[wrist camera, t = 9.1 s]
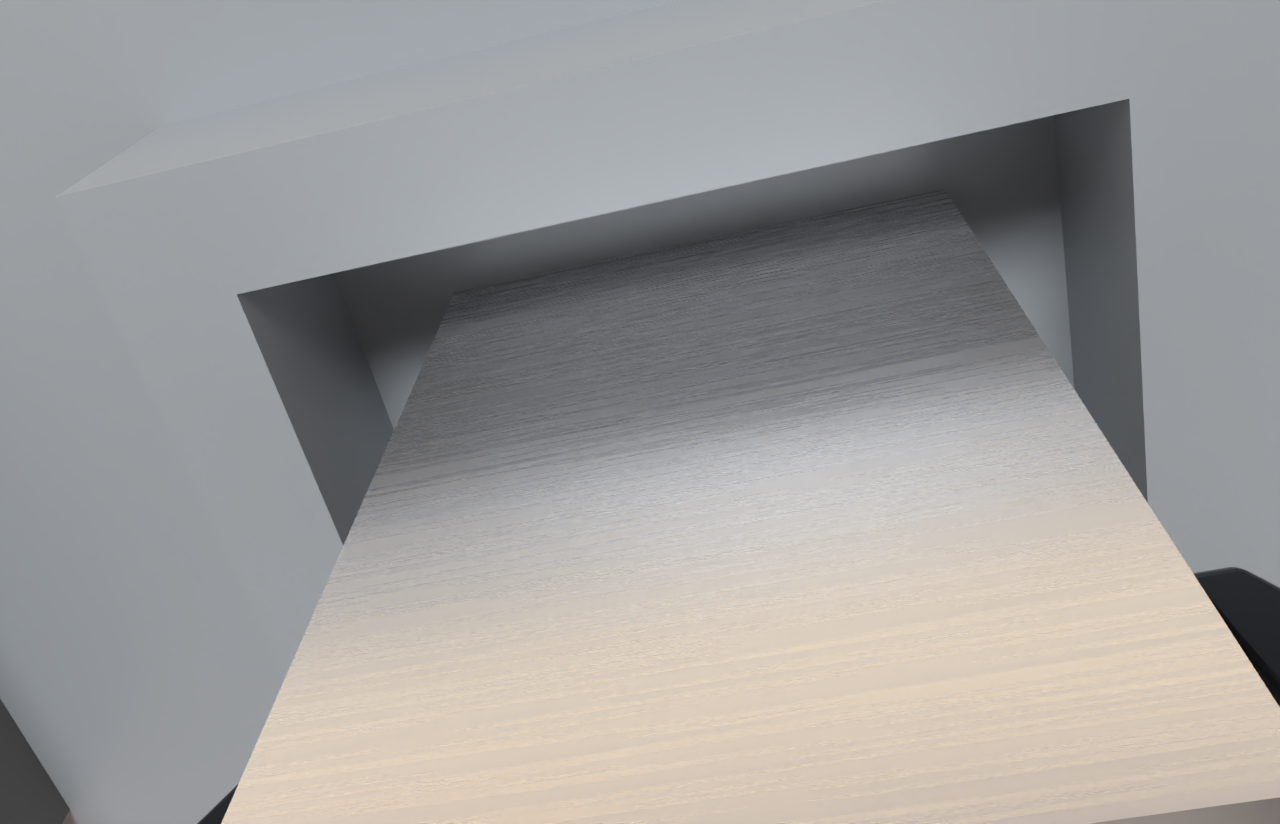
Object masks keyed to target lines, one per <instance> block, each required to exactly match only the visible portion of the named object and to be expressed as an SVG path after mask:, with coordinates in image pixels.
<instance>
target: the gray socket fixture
mask: <svg viewBox="0 0 1280 824" xmlns="http://www.w3.org/2000/svg"><path fill="white" fill-rule="evenodd" d="M942 189H945V190H946V192H947V193H948V195H949V196H950V198H951V199H952V201H953V203H954V204H955V206H956V207H957V209H958V210H959V212H960V213H961V215H962V217H963V218H964V220H965V221H966V223H967V224H968V226H969V227H970V229H971V230H972V232H973V234H974V235H975V237H976V238H977V240H978V241H979V243H980V244H981V246H982V247H983V249H984V251H985V252H986V254H987V255H988V257H989V258H990V260H991V261H992V263H993V264H994V266H995V268H996V269H997V271H998V272H999V274H1000V275H1001V277H1002V278H1003V280H1004V282H1005V283H1006V285H1007V286H1008V288H1009V289H1010V291H1011V292H1012V294H1013V295H1014V297H1015V299H1016V300H1017V302H1018V303H1019V305H1020V306H1021V308H1022V309H1023V311H1024V312H1025V314H1026V316H1027V317H1028V319H1029V320H1030V322H1031V323H1032V325H1033V326H1034V328H1035V329H1036V331H1037V333H1038V334H1039V336H1040V337H1041V339H1042V340H1043V342H1044V343H1045V345H1046V346H1047V348H1048V350H1049V351H1050V353H1051V354H1052V356H1053V357H1054V359H1055V360H1056V362H1057V364H1058V365H1059V367H1060V368H1061V370H1062V371H1063V373H1064V374H1065V376H1066V377H1067V379H1068V381H1069V382H1070V384H1071V385H1072V387H1073V388H1074V390H1075V391H1076V393H1077V394H1078V396H1079V398H1080V399H1081V401H1082V402H1083V404H1084V405H1085V407H1086V408H1087V410H1088V411H1089V413H1090V415H1091V416H1092V418H1093V419H1094V421H1095V422H1096V424H1097V425H1098V427H1099V429H1100V430H1101V432H1102V433H1103V435H1104V436H1105V438H1106V439H1107V441H1108V442H1109V444H1110V446H1111V447H1112V449H1113V450H1114V452H1115V453H1116V455H1117V456H1118V458H1119V459H1120V461H1121V463H1122V464H1123V466H1124V467H1125V469H1126V470H1127V472H1128V473H1129V475H1130V476H1131V478H1132V480H1133V481H1134V483H1135V484H1136V486H1137V487H1138V489H1139V490H1140V492H1141V493H1142V495H1143V497H1144V498H1145V500H1146V501H1147V503H1148V504H1149V506H1150V507H1151V509H1152V511H1153V512H1154V514H1155V515H1156V517H1157V518H1158V520H1159V521H1160V523H1161V524H1162V526H1163V528H1164V529H1165V531H1166V532H1167V534H1168V535H1169V537H1170V538H1171V540H1172V541H1173V543H1174V545H1175V546H1176V548H1177V549H1178V551H1179V552H1180V554H1181V555H1182V557H1183V558H1184V560H1185V562H1186V563H1187V565H1188V566H1189V568H1190V569H1191V571H1192V572H1193V573H1197V572H1203V571H1209V570H1215V569H1221V568H1227V567H1238V568H1242V569H1245V570H1247V571H1249V572H1251V573H1253V574H1255V575H1257V576H1259V577H1261V578H1263V579H1264V580H1266V581H1268V582H1270V583H1272V584H1274V585H1276V586H1278V587H1279V588H1280V0H0V824H197V823H198V822H199V821H200V820H201V819H202V818H203V817H204V816H206V815H207V814H208V813H209V812H210V811H211V810H212V809H213V808H214V807H215V806H216V805H217V804H218V803H219V802H220V801H221V800H222V799H223V798H224V797H225V796H226V795H227V794H228V793H229V792H230V791H231V790H232V789H233V788H234V787H235V786H236V785H237V784H238V783H239V782H240V779H241V777H242V775H243V773H244V770H245V768H246V766H247V764H248V761H249V759H250V757H251V754H252V752H253V750H254V748H255V745H256V743H257V741H258V739H259V736H260V734H261V732H262V729H263V727H264V725H265V723H266V720H267V718H268V716H269V713H270V711H271V709H272V707H273V704H274V702H275V700H276V698H277V695H278V693H279V691H280V688H281V686H282V684H283V682H284V679H285V677H286V675H287V673H288V670H289V668H290V666H291V663H292V661H293V659H294V657H295V654H296V652H297V650H298V648H299V645H300V643H301V641H302V638H303V636H304V634H305V632H306V629H307V627H308V625H309V623H310V620H311V618H312V616H313V613H314V611H315V609H316V607H317V604H318V602H319V600H320V597H321V595H322V593H323V591H324V588H325V586H326V584H327V582H328V579H329V577H330V575H331V572H332V570H333V568H334V566H335V563H336V561H337V559H338V557H339V554H340V552H341V550H342V547H343V545H344V543H345V541H346V538H347V536H348V534H349V532H350V529H351V527H352V525H353V522H354V520H355V518H356V516H357V513H358V511H359V509H360V507H361V504H362V502H363V500H364V497H365V495H366V493H367V491H368V488H369V486H370V484H371V482H372V479H373V477H374V475H375V472H376V470H377V468H378V466H379V463H380V461H381V459H382V456H383V454H384V452H385V450H386V447H387V445H388V443H389V441H390V438H391V436H392V434H393V431H394V429H395V427H396V425H397V422H398V420H399V418H400V416H401V413H402V411H403V409H404V406H405V404H406V402H407V400H408V397H409V395H410V393H411V391H412V388H413V386H414V384H415V381H416V379H417V377H418V375H419V372H420V370H421V368H422V366H423V363H424V361H425V359H426V356H427V354H428V352H429V350H430V347H431V345H432V343H433V340H434V338H435V336H436V334H437V331H438V329H439V327H440V325H441V322H442V320H443V318H444V315H445V313H446V311H447V309H448V306H449V304H450V302H451V300H452V297H453V295H454V293H455V292H457V291H462V290H467V289H471V288H476V287H481V286H486V285H490V284H495V283H500V282H505V281H509V280H514V279H519V278H524V277H528V276H533V275H538V274H543V273H547V272H552V271H557V270H562V269H567V268H571V267H576V266H581V265H586V264H590V263H595V262H600V261H605V260H609V259H614V258H619V257H624V256H628V255H633V254H638V253H643V252H647V251H652V250H657V249H662V248H666V247H671V246H676V245H681V244H685V243H690V242H695V241H700V240H705V239H709V238H714V237H719V236H724V235H728V234H733V233H738V232H743V231H747V230H752V229H757V228H762V227H766V226H771V225H776V224H781V223H785V222H790V221H795V220H800V219H804V218H809V217H814V216H819V215H824V214H828V213H833V212H838V211H843V210H847V209H852V208H857V207H862V206H866V205H871V204H876V203H881V202H885V201H890V200H895V199H900V198H904V197H909V196H914V195H919V194H923V193H928V192H933V191H938V190H942Z"/></svg>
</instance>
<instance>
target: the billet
mask: <svg viewBox="0 0 1280 824" xmlns="http://www.w3.org/2000/svg"><path fill="white" fill-rule="evenodd" d="M221 824H1280V707H1279V705H1278V704H1277V702H1276V701H1275V699H1274V698H1273V696H1272V695H1271V693H1270V692H1269V690H1268V688H1267V687H1266V685H1265V684H1264V682H1263V681H1262V679H1261V678H1260V676H1259V675H1258V673H1257V671H1256V670H1255V668H1254V667H1253V665H1252V664H1251V662H1250V661H1249V659H1248V658H1247V656H1246V654H1245V653H1244V651H1243V650H1242V648H1241V647H1240V645H1239V644H1238V642H1237V640H1236V639H1235V637H1234V636H1233V634H1232V633H1231V631H1230V630H1229V628H1228V627H1227V625H1226V623H1225V622H1224V620H1223V619H1222V617H1221V616H1220V614H1219V613H1218V611H1217V610H1216V608H1215V606H1214V605H1213V603H1212V602H1211V600H1210V599H1209V597H1208V596H1207V594H1206V593H1205V591H1204V589H1203V588H1202V586H1201V585H1200V583H1199V582H1198V580H1197V579H1196V577H1195V576H1194V574H1193V572H1192V571H1191V569H1190V568H1189V566H1188V565H1187V563H1186V562H1185V560H1184V558H1183V557H1182V555H1181V554H1180V552H1179V551H1178V549H1177V548H1176V546H1175V545H1174V543H1173V541H1172V540H1171V538H1170V537H1169V535H1168V534H1167V532H1166V531H1165V529H1164V528H1163V526H1162V524H1161V523H1160V521H1159V520H1158V518H1157V517H1156V515H1155V514H1154V512H1153V511H1152V509H1151V507H1150V506H1149V504H1148V503H1147V501H1146V500H1145V498H1144V497H1143V495H1142V493H1141V492H1140V490H1139V489H1138V487H1137V486H1136V484H1135V483H1134V481H1133V480H1132V478H1131V476H1130V475H1129V473H1128V472H1127V470H1126V469H1125V467H1124V466H1123V464H1122V463H1121V461H1120V459H1119V458H1118V456H1117V455H1116V453H1115V452H1114V450H1113V449H1112V447H1111V446H1110V444H1109V442H1108V441H1107V439H1106V438H1105V436H1104V435H1103V433H1102V432H1101V430H1100V429H1099V427H1098V425H1097V424H1096V422H1095V421H1094V419H1093V418H1092V416H1091V415H1090V413H1089V411H1088V410H1087V408H1086V407H1085V405H1084V404H1083V402H1082V401H1081V399H1080V398H1079V396H1078V394H1077V393H1076V391H1075V390H1074V388H1073V387H1072V385H1071V384H1070V382H1069V381H1068V379H1067V377H1066V376H1065V374H1064V373H1063V371H1062V370H1061V368H1060V367H1059V365H1058V364H1057V362H1056V360H1055V359H1054V357H1053V356H1052V354H1051V353H1050V351H1049V350H1048V348H1047V346H1046V345H1045V343H1044V342H1043V340H1042V339H1041V337H1040V336H1039V334H1038V333H1037V331H1036V329H1035V328H1034V326H1033V325H1032V323H1031V322H1030V320H1029V319H1028V317H1027V316H1026V314H1025V312H1024V311H1023V309H1022V308H1021V306H1020V305H1019V303H1018V302H1017V300H1016V299H1015V297H1014V295H1013V294H1012V292H1011V291H1010V289H1009V288H1008V286H1007V285H1006V283H1005V282H1004V280H1003V278H1002V277H1001V275H1000V274H999V272H998V271H997V269H996V268H995V266H994V264H993V263H992V261H991V260H990V258H989V257H988V255H987V254H986V252H985V251H984V249H983V247H982V246H981V244H980V243H979V241H978V240H977V238H976V237H975V235H974V234H973V232H972V230H971V229H970V227H969V226H968V224H967V223H966V221H965V220H964V218H963V217H962V215H961V213H960V212H959V210H958V209H957V207H956V206H955V204H954V203H953V201H952V199H951V198H950V196H949V195H948V193H947V192H946V190H945V189H942V190H938V191H933V192H928V193H923V194H919V195H914V196H909V197H904V198H900V199H895V200H890V201H885V202H881V203H876V204H871V205H866V206H862V207H857V208H852V209H847V210H843V211H838V212H833V213H828V214H824V215H819V216H814V217H809V218H804V219H800V220H795V221H790V222H785V223H781V224H776V225H771V226H766V227H762V228H757V229H752V230H747V231H743V232H738V233H733V234H728V235H724V236H719V237H714V238H709V239H705V240H700V241H695V242H690V243H685V244H681V245H676V246H671V247H666V248H662V249H657V250H652V251H647V252H643V253H638V254H633V255H628V256H624V257H619V258H614V259H609V260H605V261H600V262H595V263H590V264H586V265H581V266H576V267H571V268H567V269H562V270H557V271H552V272H547V273H543V274H538V275H533V276H528V277H524V278H519V279H514V280H509V281H505V282H500V283H495V284H490V285H486V286H481V287H476V288H471V289H467V290H462V291H457V292H455V293H454V295H453V297H452V300H451V302H450V304H449V306H448V309H447V311H446V313H445V315H444V318H443V320H442V322H441V325H440V327H439V329H438V331H437V334H436V336H435V338H434V340H433V343H432V345H431V347H430V350H429V352H428V354H427V356H426V359H425V361H424V363H423V366H422V368H421V370H420V372H419V375H418V377H417V379H416V381H415V384H414V386H413V388H412V391H411V393H410V395H409V397H408V400H407V402H406V404H405V406H404V409H403V411H402V413H401V416H400V418H399V420H398V422H397V425H396V427H395V429H394V431H393V434H392V436H391V438H390V441H389V443H388V445H387V447H386V450H385V452H384V454H383V456H382V459H381V461H380V463H379V466H378V468H377V470H376V472H375V475H374V477H373V479H372V482H371V484H370V486H369V488H368V491H367V493H366V495H365V497H364V500H363V502H362V504H361V507H360V509H359V511H358V513H357V516H356V518H355V520H354V522H353V525H352V527H351V529H350V532H349V534H348V536H347V538H346V541H345V543H344V545H343V547H342V550H341V552H340V554H339V557H338V559H337V561H336V563H335V566H334V568H333V570H332V572H331V575H330V577H329V579H328V582H327V584H326V586H325V588H324V591H323V593H322V595H321V597H320V600H319V602H318V604H317V607H316V609H315V611H314V613H313V616H312V618H311V620H310V623H309V625H308V627H307V629H306V632H305V634H304V636H303V638H302V641H301V643H300V645H299V648H298V650H297V652H296V654H295V657H294V659H293V661H292V663H291V666H290V668H289V670H288V673H287V675H286V677H285V679H284V682H283V684H282V686H281V688H280V691H279V693H278V695H277V698H276V700H275V702H274V704H273V707H272V709H271V711H270V713H269V716H268V718H267V720H266V723H265V725H264V727H263V729H262V732H261V734H260V736H259V739H258V741H257V743H256V745H255V748H254V750H253V752H252V754H251V757H250V759H249V761H248V764H247V766H246V768H245V770H244V773H243V775H242V777H241V779H240V782H239V784H238V786H237V789H236V791H235V793H234V795H233V798H232V800H231V802H230V804H229V807H228V809H227V811H226V814H225V816H224V818H223V820H222V823H221Z"/></svg>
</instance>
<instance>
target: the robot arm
mask: <svg viewBox="0 0 1280 824" xmlns="http://www.w3.org/2000/svg"><path fill="white" fill-rule="evenodd" d="M1193 574H1194V576H1195V577H1196V579H1197V580H1198V582H1199V583H1200V585H1201V586H1202V588H1203V589H1204V591H1205V593H1206V594H1207V596H1208V597H1209V599H1210V600H1211V602H1212V603H1213V605H1214V606H1215V608H1216V610H1217V611H1218V613H1219V614H1220V616H1221V617H1222V619H1223V620H1224V622H1225V623H1226V625H1227V627H1228V628H1229V630H1230V631H1231V633H1232V634H1233V636H1234V637H1235V639H1236V640H1237V642H1238V644H1239V645H1240V647H1241V648H1242V650H1243V651H1244V653H1245V654H1246V656H1247V658H1248V659H1249V661H1250V662H1251V664H1252V665H1253V667H1254V668H1255V670H1256V671H1257V673H1258V675H1259V676H1260V678H1261V679H1262V681H1263V682H1264V684H1265V685H1266V687H1267V688H1268V690H1269V692H1270V693H1271V695H1272V696H1273V698H1274V699H1275V701H1276V702H1277V704H1278V705H1279V707H1280V588H1279V587H1278V586H1276V585H1274V584H1272V583H1270V582H1268V581H1266V580H1264V579H1263V578H1261V577H1259V576H1257V575H1255V574H1253V573H1251V572H1249V571H1247V570H1245V569H1242V568H1238V567H1227V568H1221V569H1215V570H1209V571H1203V572H1197V573H1193ZM238 784H239V783H238ZM238 784H237V785H236V786H235V787H234V788H233V789H232V790H231V791H230V792H229V793H228V794H227V795H226V796H225V797H224V798H223V799H222V800H221V801H220V802H219V803H218V804H217V805H216V806H215V807H214V808H213V809H212V810H211V811H210V812H209V813H208V814H207V815H206V816H204V817H203V818H202V819H201V820H200V821H199V822H198V823H197V824H221V823H222V820H223V818H224V816H225V814H226V811H227V809H228V807H229V804H230V802H231V800H232V798H233V795H234V793H235V791H236V789H237V786H238Z"/></svg>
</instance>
